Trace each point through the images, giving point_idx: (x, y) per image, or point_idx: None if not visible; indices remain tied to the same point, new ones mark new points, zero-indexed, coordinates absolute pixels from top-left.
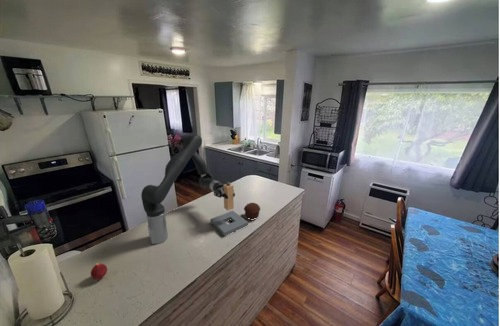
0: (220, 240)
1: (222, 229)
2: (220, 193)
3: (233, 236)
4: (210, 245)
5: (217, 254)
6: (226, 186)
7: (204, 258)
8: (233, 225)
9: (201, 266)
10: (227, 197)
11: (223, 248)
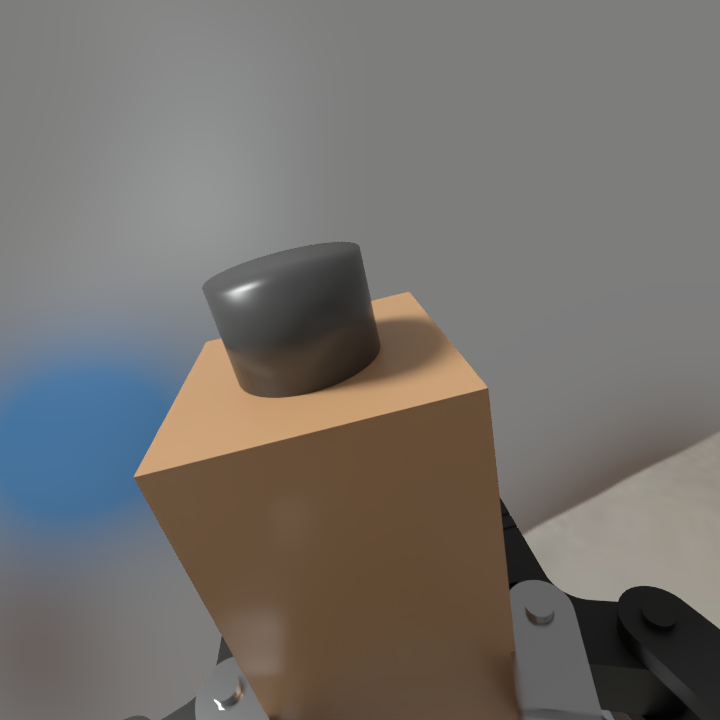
0: None
1: None
2: (644, 610)
3: None
4: (701, 600)
5: (621, 507)
6: (411, 315)
7: (715, 501)
8: None
9: (716, 461)
10: None
11: (578, 540)
